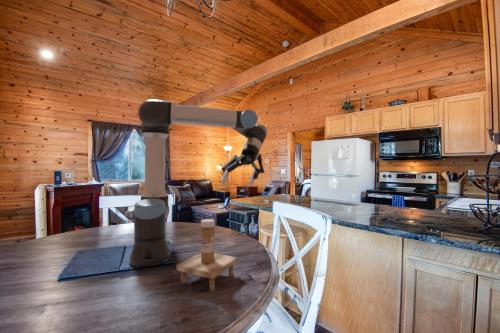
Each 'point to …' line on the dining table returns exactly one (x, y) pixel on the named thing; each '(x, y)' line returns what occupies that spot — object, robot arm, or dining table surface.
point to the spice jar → (207, 240)
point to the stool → (207, 268)
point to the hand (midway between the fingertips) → (235, 183)
